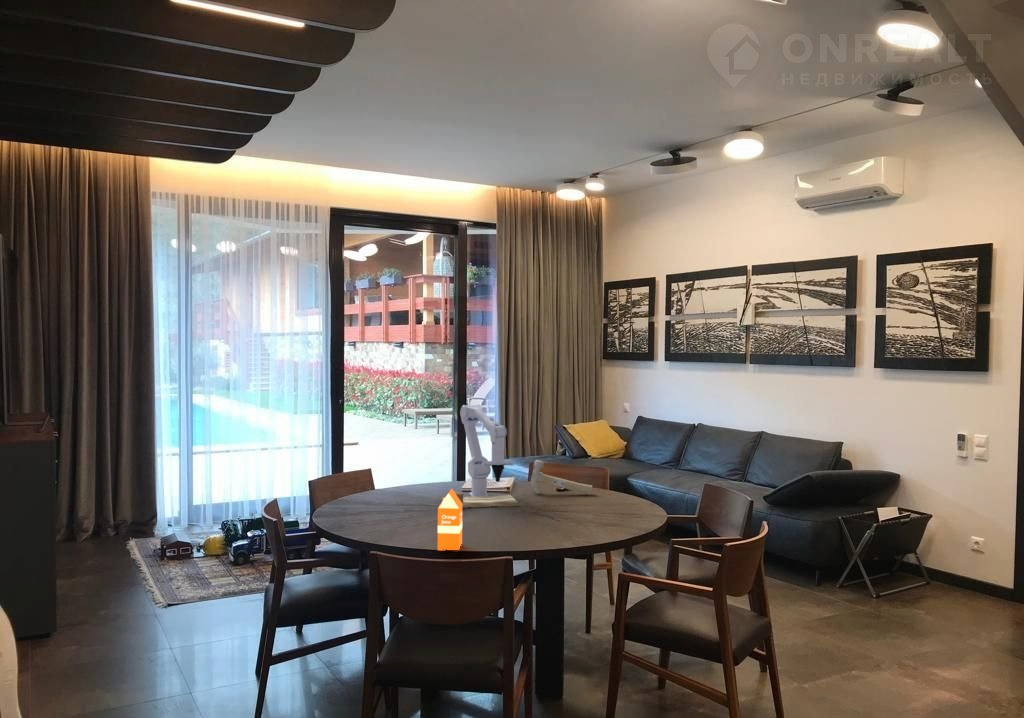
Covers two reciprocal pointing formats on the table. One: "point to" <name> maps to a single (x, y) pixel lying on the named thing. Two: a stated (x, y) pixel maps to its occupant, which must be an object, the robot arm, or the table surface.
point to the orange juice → (450, 523)
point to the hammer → (556, 481)
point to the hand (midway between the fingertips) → (497, 481)
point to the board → (488, 501)
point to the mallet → (459, 496)
